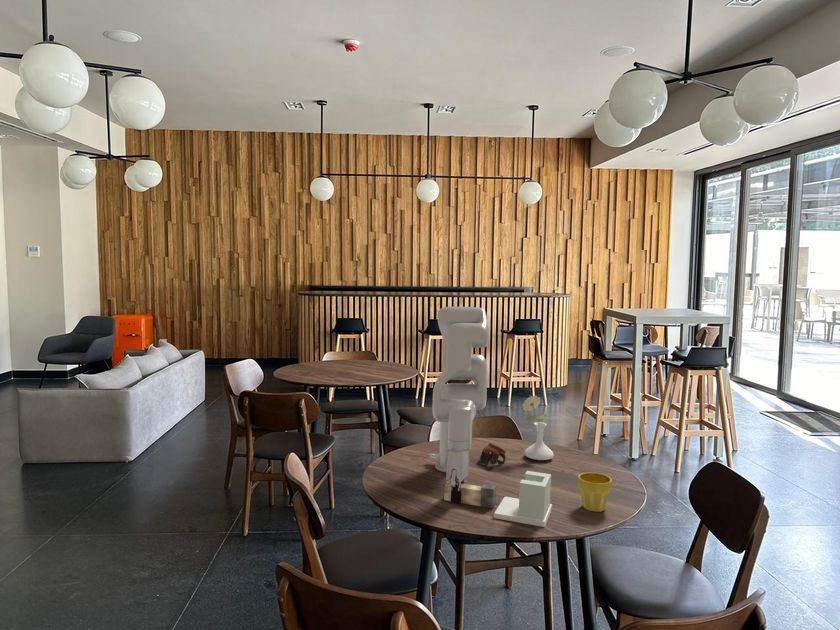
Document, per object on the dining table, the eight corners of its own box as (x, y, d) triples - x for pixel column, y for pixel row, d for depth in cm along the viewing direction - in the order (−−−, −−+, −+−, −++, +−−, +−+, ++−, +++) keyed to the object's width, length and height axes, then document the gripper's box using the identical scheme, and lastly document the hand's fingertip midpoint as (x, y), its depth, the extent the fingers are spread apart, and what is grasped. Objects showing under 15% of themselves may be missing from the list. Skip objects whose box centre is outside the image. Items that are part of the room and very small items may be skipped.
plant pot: (569, 503, 191) (571, 474, 191) (595, 499, 196) (597, 470, 195) (591, 516, 182) (592, 485, 181) (617, 511, 186) (619, 481, 185)
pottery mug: (475, 460, 233) (484, 440, 235) (496, 471, 233) (505, 451, 235) (481, 462, 221) (491, 442, 223) (504, 474, 222) (513, 453, 223)
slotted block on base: (494, 518, 179) (495, 480, 178) (504, 501, 192) (505, 466, 191) (544, 527, 174) (546, 488, 173) (551, 508, 187) (553, 473, 186)
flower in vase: (549, 453, 242) (552, 392, 239) (556, 463, 230) (559, 399, 228) (517, 453, 241) (519, 392, 239) (523, 462, 230) (525, 398, 228)
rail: (444, 500, 192) (444, 482, 191) (447, 496, 195) (448, 478, 195) (493, 508, 186) (493, 489, 186) (495, 504, 189) (496, 485, 189)
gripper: (456, 435, 199) (454, 489, 201) (439, 449, 184) (438, 507, 186) (477, 438, 197) (476, 492, 198) (463, 453, 181) (461, 511, 183)
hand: (457, 499), depth 192 cm, fingers closed on rail, 3 cm apart
